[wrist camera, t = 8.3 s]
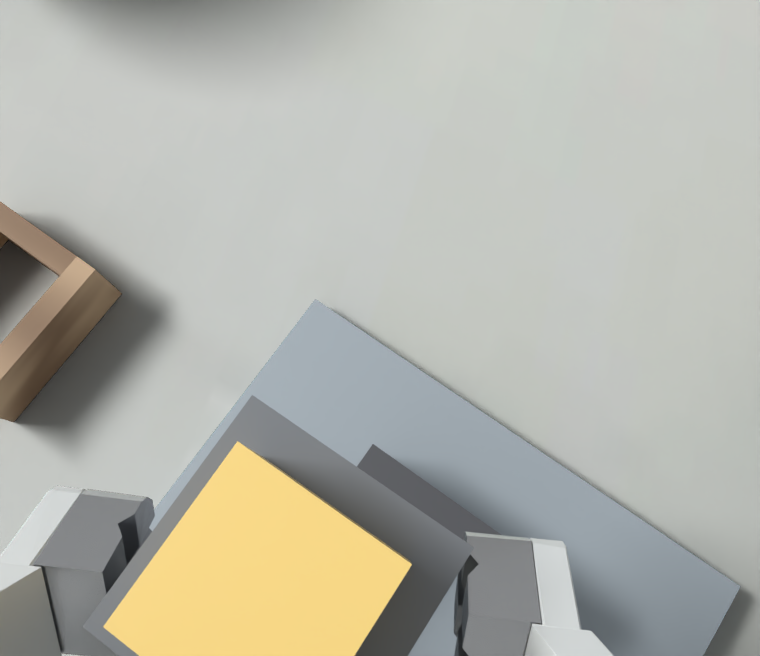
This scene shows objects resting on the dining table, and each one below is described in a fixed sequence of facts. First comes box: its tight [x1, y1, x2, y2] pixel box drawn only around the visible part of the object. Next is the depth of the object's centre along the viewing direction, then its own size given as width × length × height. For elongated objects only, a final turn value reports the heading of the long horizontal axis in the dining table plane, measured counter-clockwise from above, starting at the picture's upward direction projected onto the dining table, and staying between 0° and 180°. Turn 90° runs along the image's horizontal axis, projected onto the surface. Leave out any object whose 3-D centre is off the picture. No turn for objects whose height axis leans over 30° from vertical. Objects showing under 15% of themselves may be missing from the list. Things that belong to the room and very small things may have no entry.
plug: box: [83, 395, 474, 656], centre depth 12 cm, size 4×4×8 cm
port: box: [149, 299, 741, 656], centre depth 26 cm, size 16×20×4 cm
